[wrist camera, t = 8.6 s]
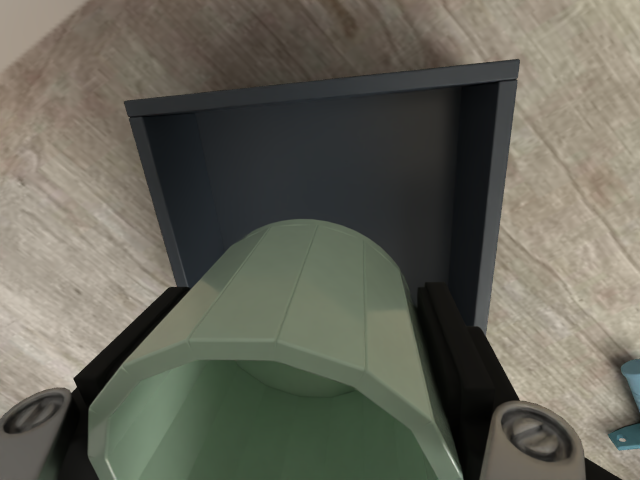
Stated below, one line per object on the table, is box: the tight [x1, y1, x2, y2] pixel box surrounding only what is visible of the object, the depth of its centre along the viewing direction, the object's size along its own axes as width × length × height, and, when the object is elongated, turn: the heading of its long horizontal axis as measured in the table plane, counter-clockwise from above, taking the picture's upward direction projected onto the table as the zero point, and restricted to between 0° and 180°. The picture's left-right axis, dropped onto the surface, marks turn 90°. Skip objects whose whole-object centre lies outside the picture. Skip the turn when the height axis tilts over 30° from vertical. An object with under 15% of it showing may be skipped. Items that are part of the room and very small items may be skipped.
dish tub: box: [124, 59, 520, 336], centre depth 17 cm, size 14×14×5 cm
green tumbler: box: [87, 219, 463, 480], centre depth 9 cm, size 7×7×6 cm
